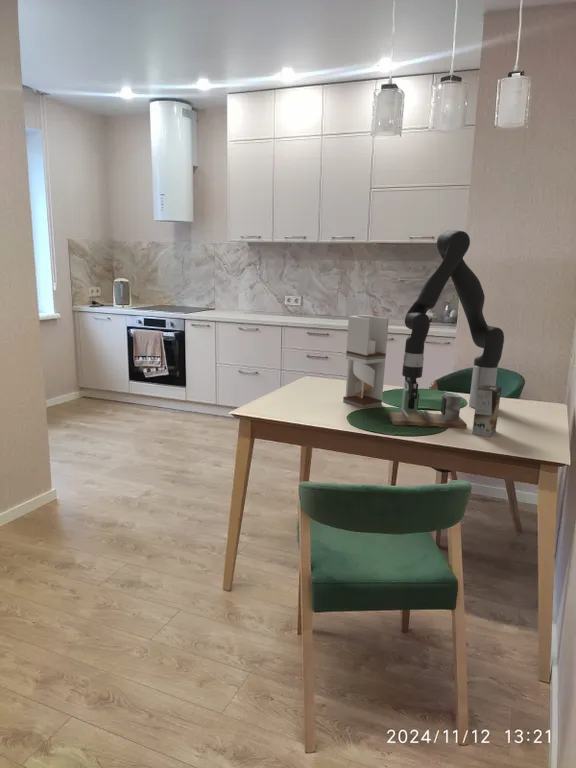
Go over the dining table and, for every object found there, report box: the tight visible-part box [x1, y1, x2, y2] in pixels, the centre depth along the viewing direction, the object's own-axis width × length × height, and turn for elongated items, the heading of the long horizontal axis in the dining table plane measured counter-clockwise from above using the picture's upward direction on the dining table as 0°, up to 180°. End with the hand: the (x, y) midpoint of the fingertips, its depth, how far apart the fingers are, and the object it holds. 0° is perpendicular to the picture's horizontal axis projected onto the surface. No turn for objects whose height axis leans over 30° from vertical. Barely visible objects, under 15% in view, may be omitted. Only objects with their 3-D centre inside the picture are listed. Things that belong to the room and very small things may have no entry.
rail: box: [387, 392, 468, 429], centre depth 203 cm, size 26×12×10 cm, turn 89°
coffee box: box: [471, 385, 502, 438], centre depth 193 cm, size 9×6×16 cm
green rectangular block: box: [400, 387, 420, 413], centre depth 216 cm, size 6×5×9 cm
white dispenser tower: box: [342, 315, 390, 409], centre depth 223 cm, size 11×11×35 cm
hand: (409, 406), depth 217 cm, fingers open, 7 cm apart
